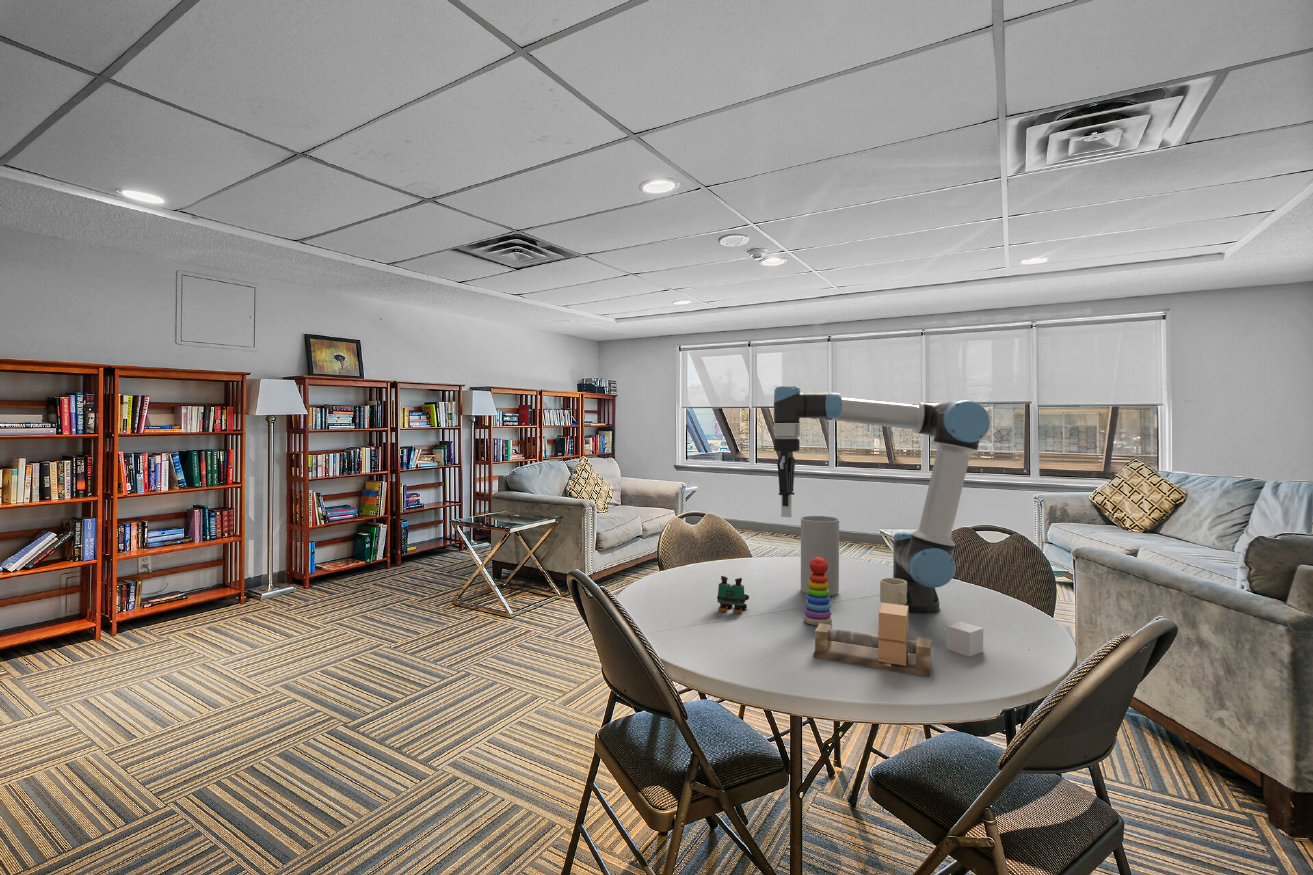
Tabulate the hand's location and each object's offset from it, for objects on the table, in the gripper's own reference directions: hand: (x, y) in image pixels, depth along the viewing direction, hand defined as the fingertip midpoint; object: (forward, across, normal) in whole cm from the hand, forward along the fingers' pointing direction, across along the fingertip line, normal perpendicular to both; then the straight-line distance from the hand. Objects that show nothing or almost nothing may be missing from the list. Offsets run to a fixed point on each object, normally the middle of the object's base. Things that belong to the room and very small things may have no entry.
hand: (786, 516), depth 178 cm
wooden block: (+28, +25, +32) cm, 49 cm away
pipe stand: (+29, +25, +27) cm, 47 cm away
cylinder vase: (+30, -28, +5) cm, 41 cm away
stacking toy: (+30, +3, +10) cm, 31 cm away
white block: (+30, +8, +48) cm, 57 cm away
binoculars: (+30, +2, -16) cm, 34 cm away
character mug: (+30, -2, +30) cm, 42 cm away
